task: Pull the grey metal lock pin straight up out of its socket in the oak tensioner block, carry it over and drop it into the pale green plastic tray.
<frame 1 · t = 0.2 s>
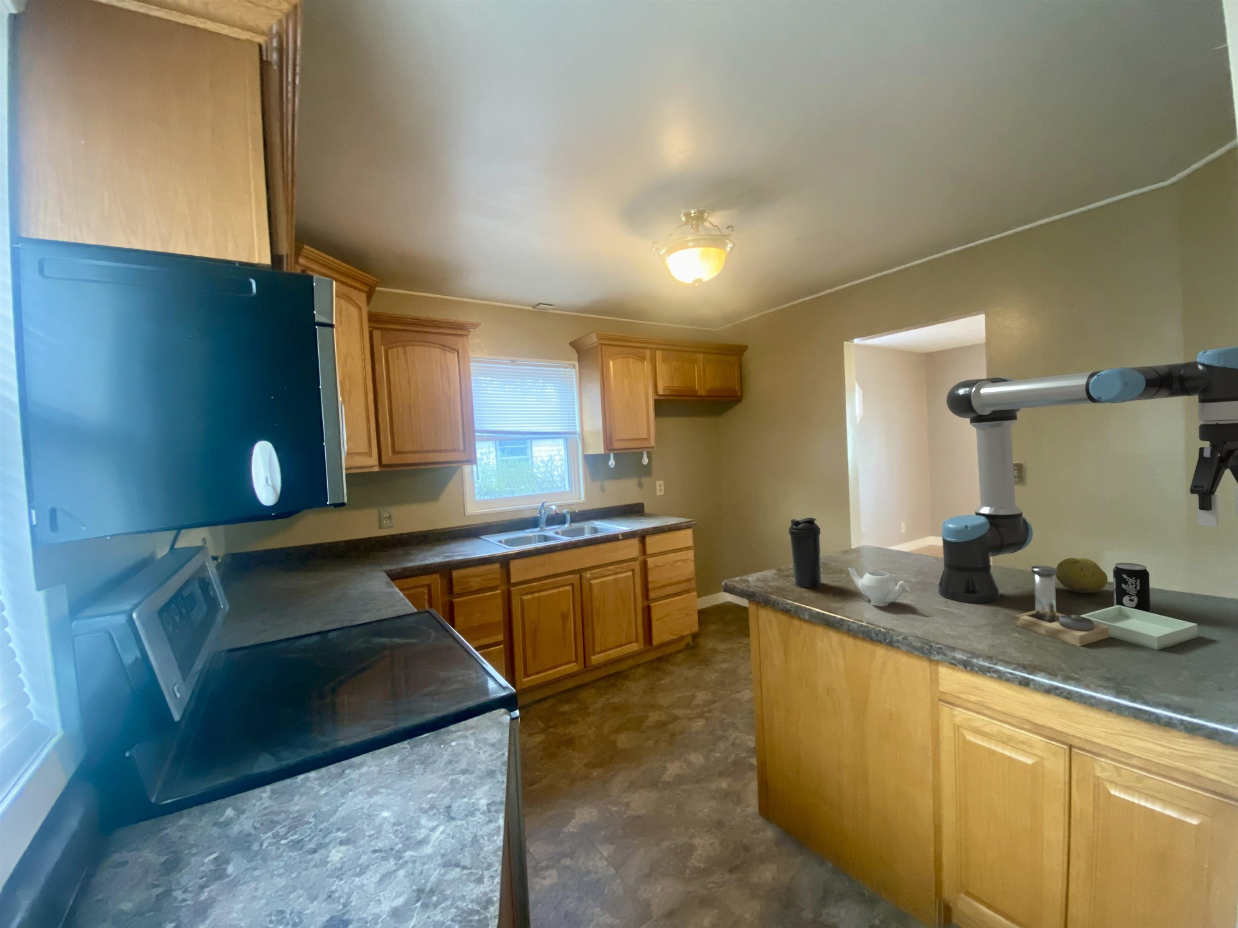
hand: (1227, 521, 106), 28 cm above the countertop, fingers open, 13 cm apart
water bottle: (808, 584, 173), on the countertop
tray: (1136, 631, 118), on the countertop
tensioner block: (1059, 630, 122), on the countertop
beverage can: (1131, 611, 129), on the countertop
teapot: (879, 604, 150), on the countertop
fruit: (1081, 593, 144), on the countertop
lock pin: (1046, 626, 125), resting in tensioner block
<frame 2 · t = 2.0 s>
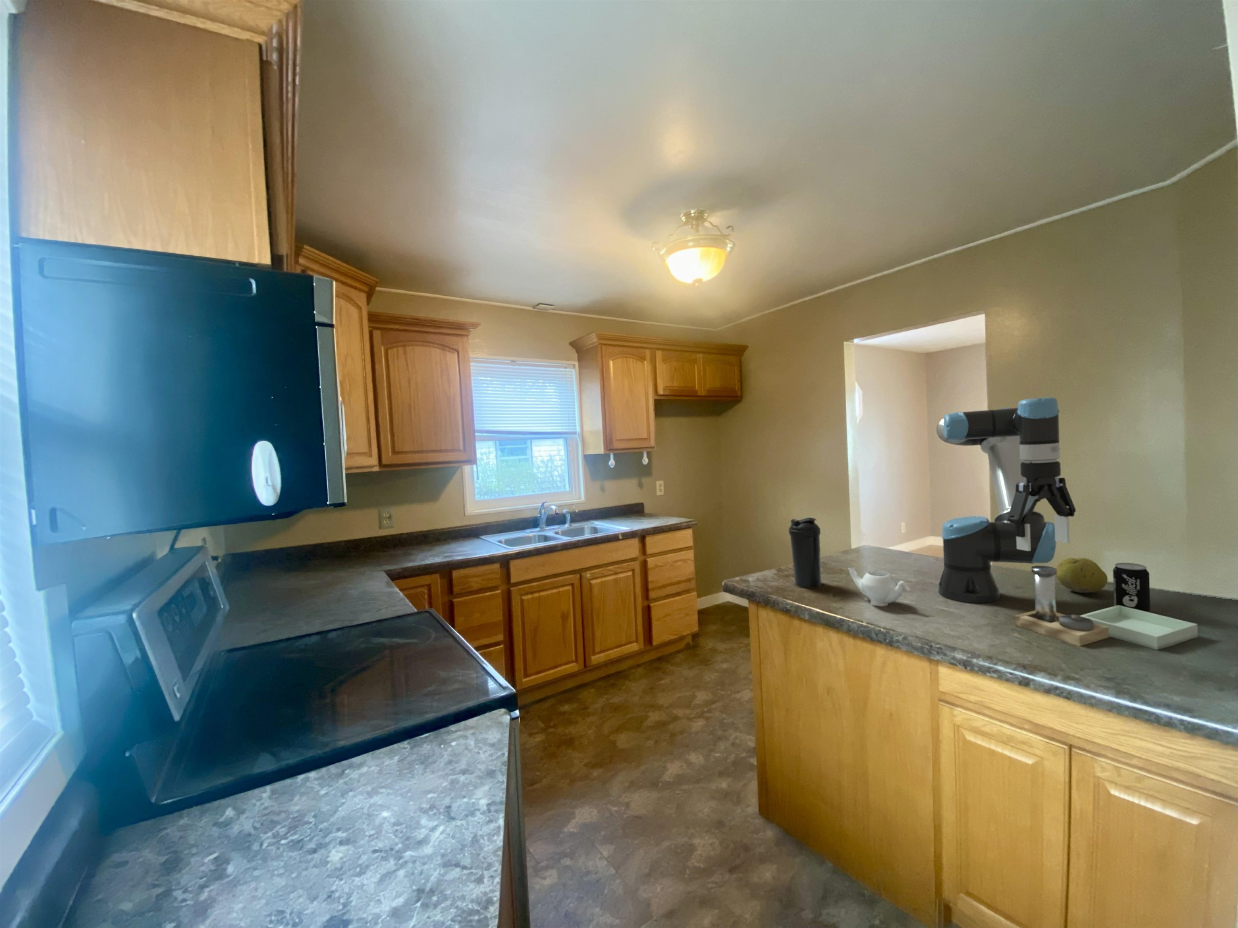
hand: (1043, 545, 123), 21 cm above the countertop, fingers open, 13 cm apart
nothing on the countertop moved.
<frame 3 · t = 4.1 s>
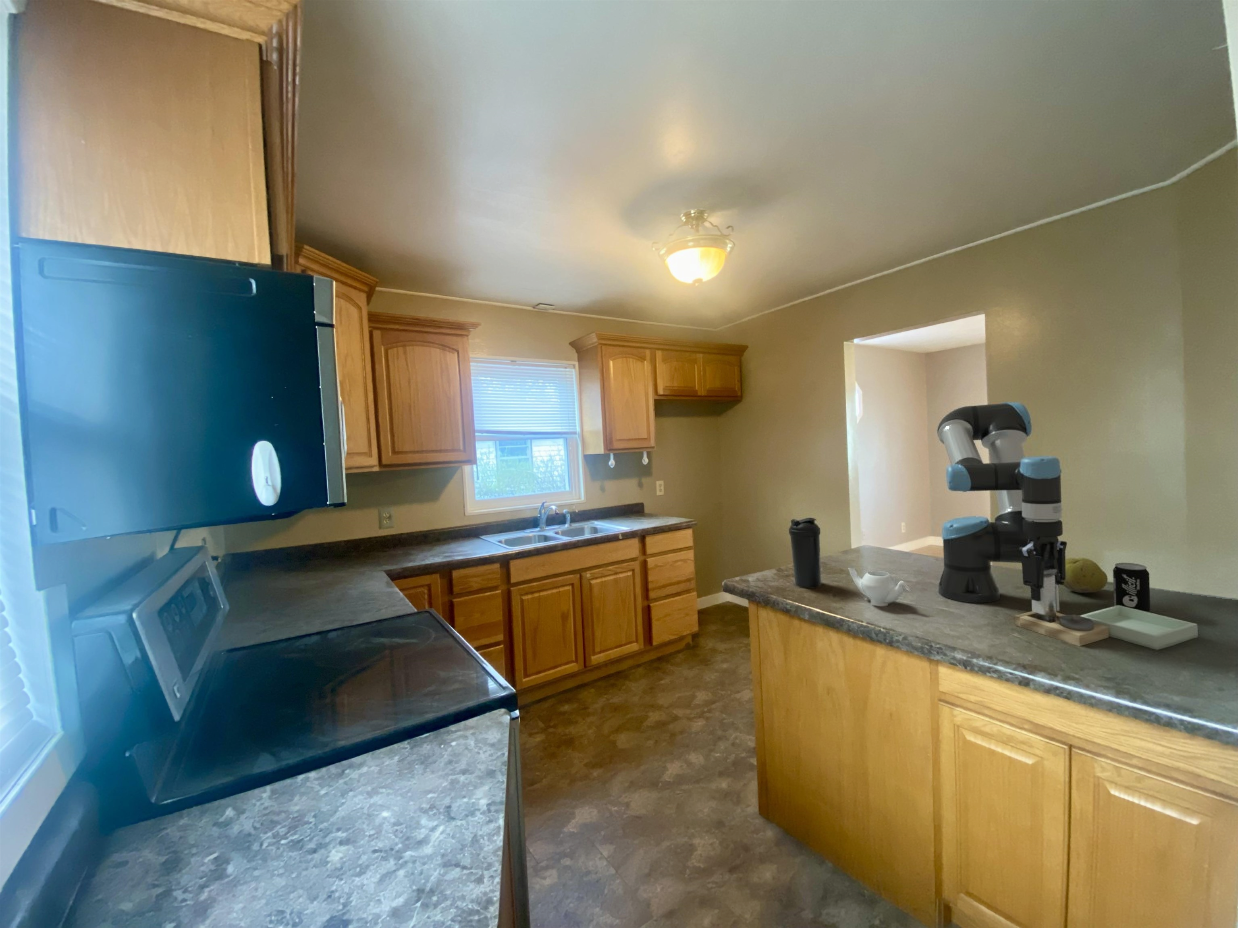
hand: (1045, 610, 124), 4 cm above the countertop, fingers closed on lock pin, 4 cm apart
lock pin: (1046, 626, 125), resting in tensioner block, touching gripper
everything else where it was.
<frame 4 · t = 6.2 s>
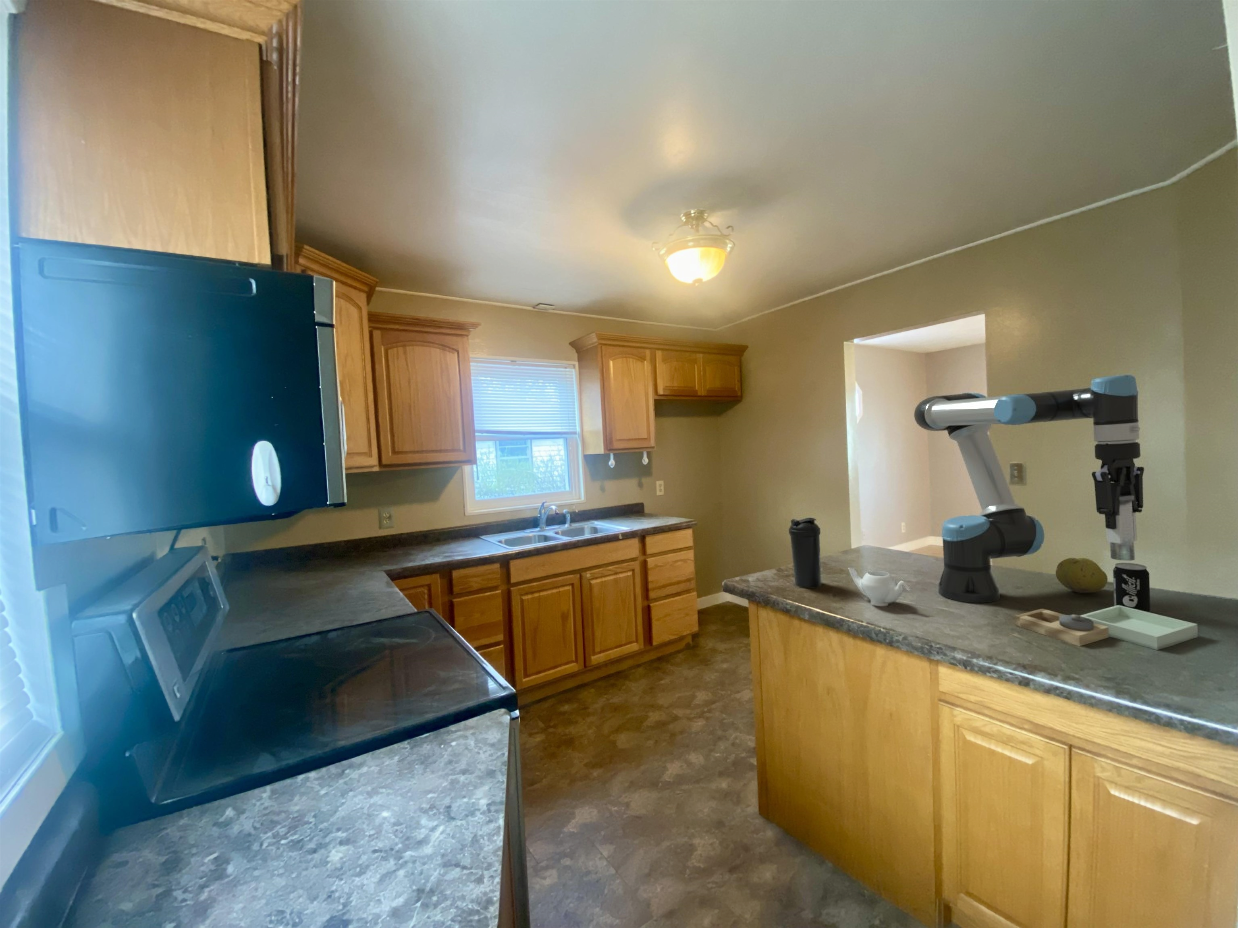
hand: (1121, 540, 117), 22 cm above the countertop, fingers closed on lock pin, 4 cm apart
lock pin: (1122, 558, 117), point 18 cm above the countertop, touching gripper
everything else where it was.
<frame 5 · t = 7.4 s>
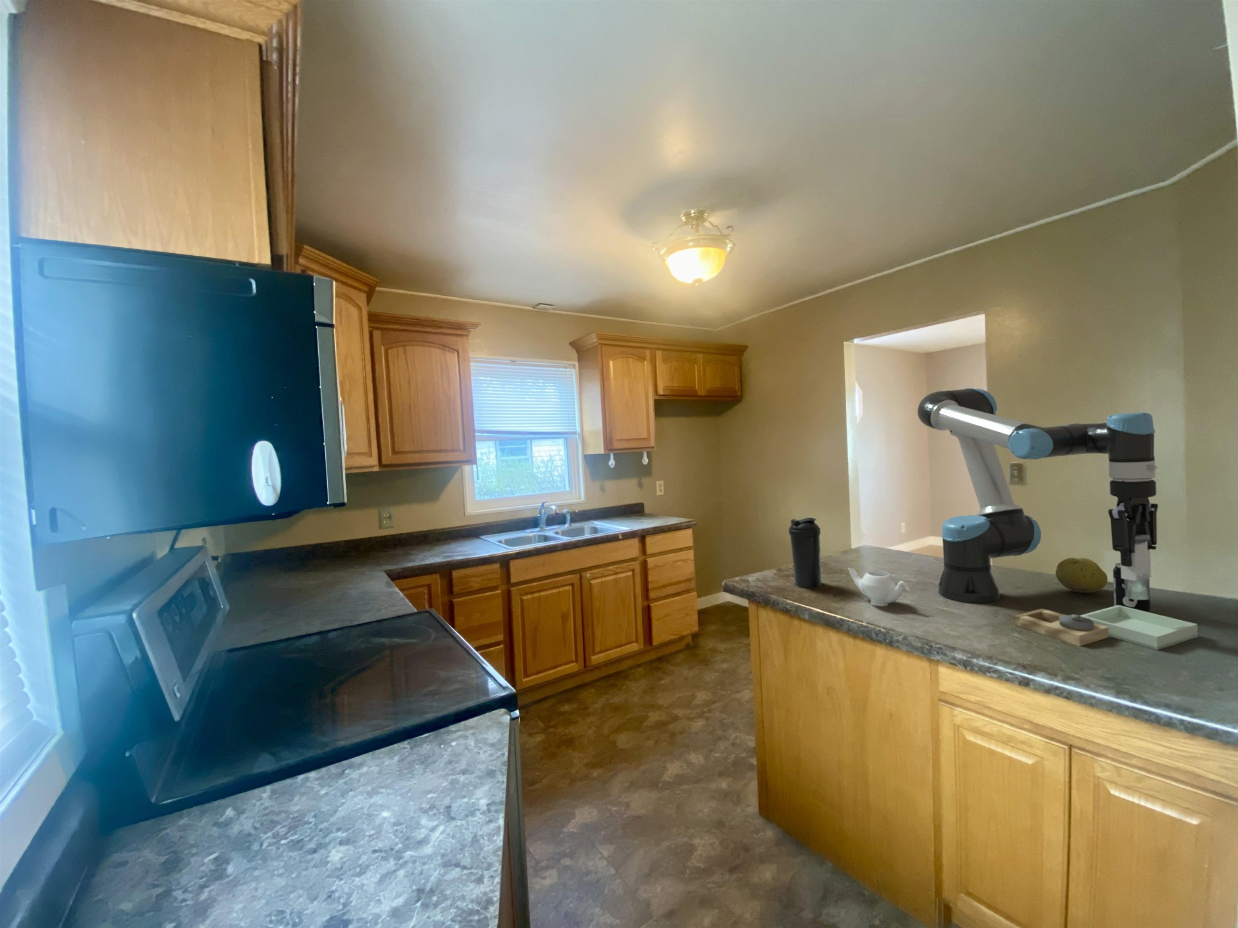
hand: (1136, 577, 117), 13 cm above the countertop, fingers closed on lock pin, 4 cm apart
lock pin: (1137, 596, 117), point 9 cm above the countertop, touching gripper
everything else where it was.
when the fingers open (7 cm above the countertop, at t = 8.3 s): lock pin drops 2 cm, resting on tray.
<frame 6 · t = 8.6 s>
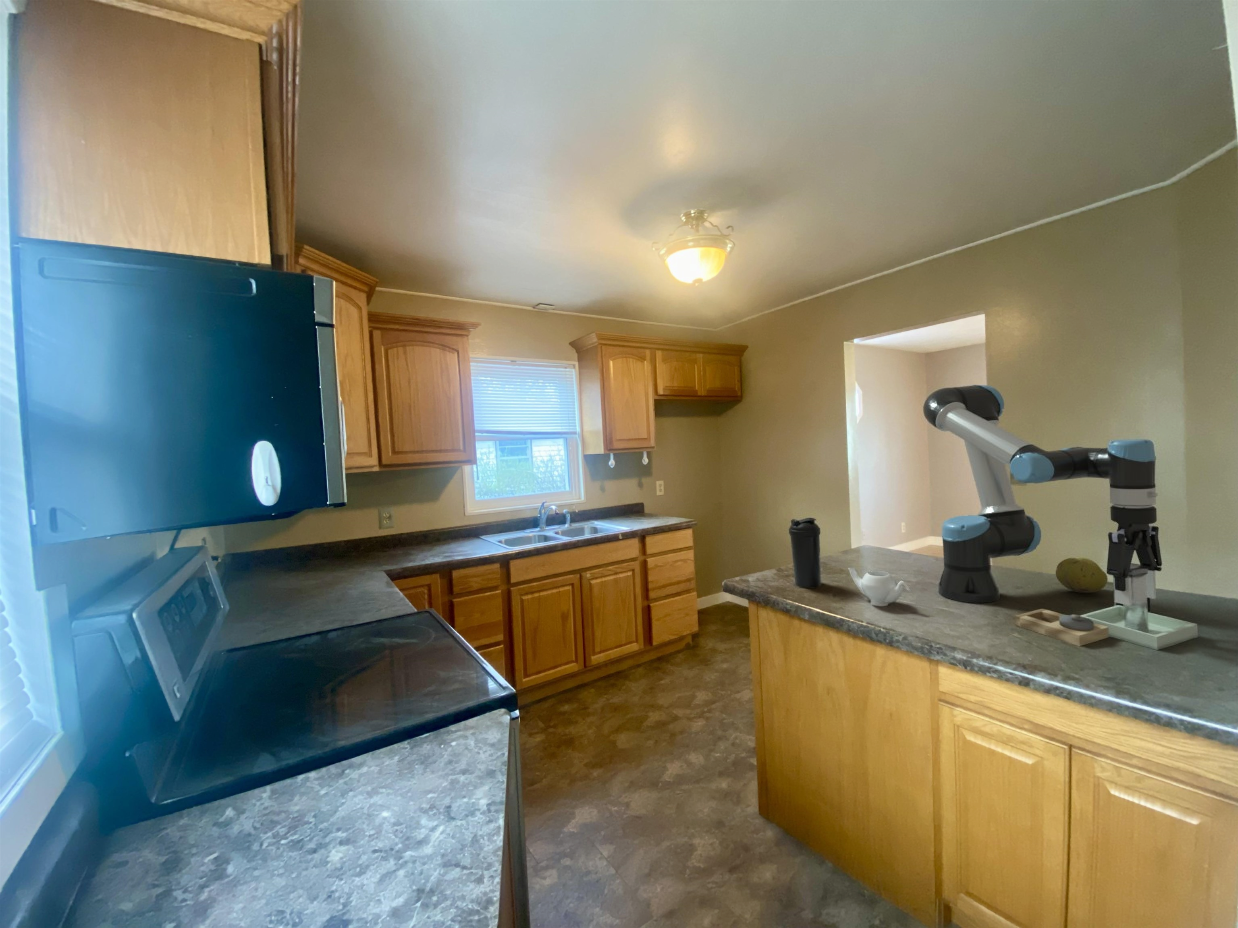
hand: (1135, 600, 117), 8 cm above the countertop, fingers open, 8 cm apart
lock pin: (1136, 629, 118), point 1 cm above the countertop, touching tray
everything else where it was.
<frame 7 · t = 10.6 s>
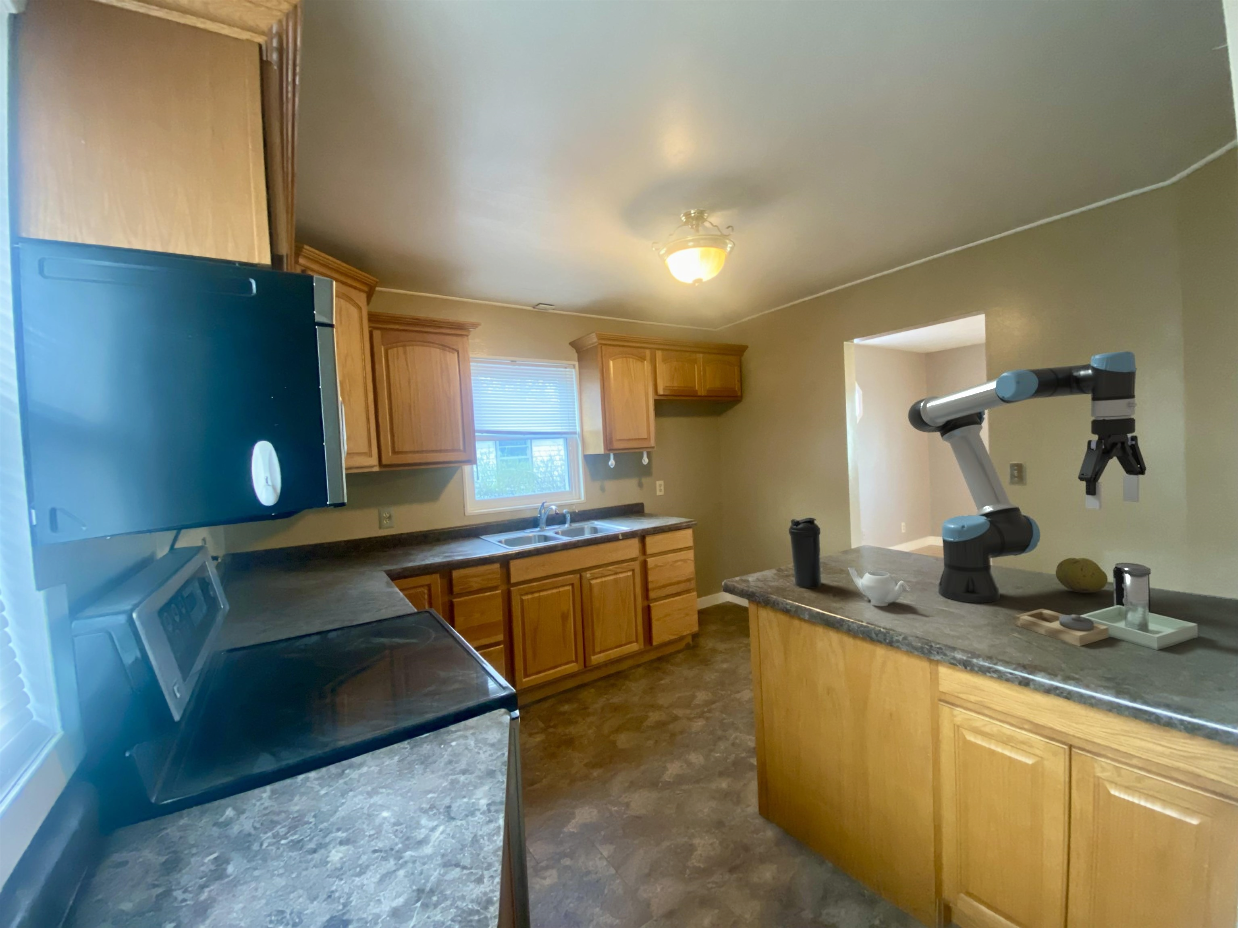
hand: (1112, 505, 121), 30 cm above the countertop, fingers open, 13 cm apart
nothing on the countertop moved.
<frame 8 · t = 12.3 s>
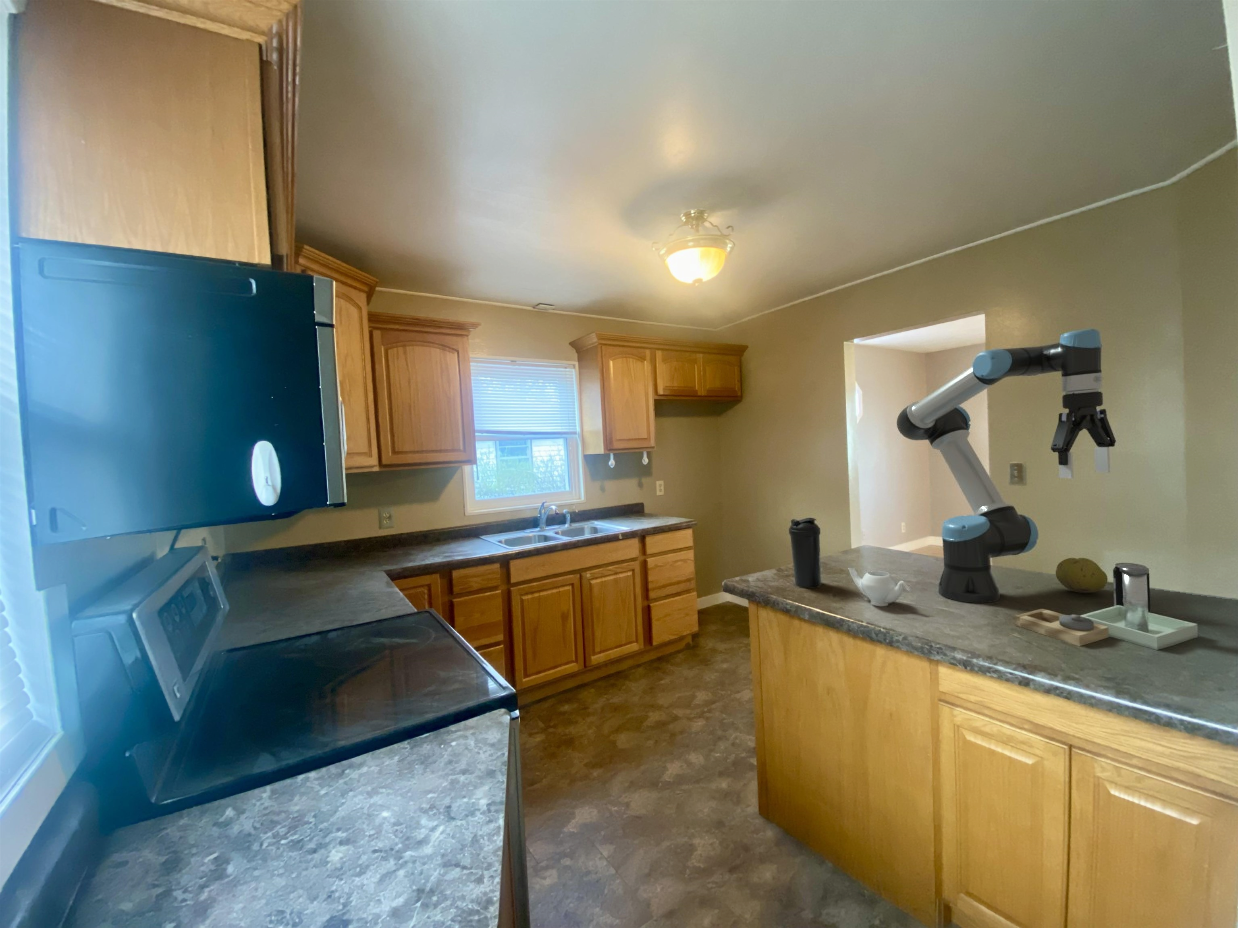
hand: (1084, 475, 127), 37 cm above the countertop, fingers open, 13 cm apart
nothing on the countertop moved.
at the end: lock pin inside the target area on the tray (0.1 cm from its centre), point 0.6 cm above the tray's base; the gripper is holding nothing; lock pin touching tray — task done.
